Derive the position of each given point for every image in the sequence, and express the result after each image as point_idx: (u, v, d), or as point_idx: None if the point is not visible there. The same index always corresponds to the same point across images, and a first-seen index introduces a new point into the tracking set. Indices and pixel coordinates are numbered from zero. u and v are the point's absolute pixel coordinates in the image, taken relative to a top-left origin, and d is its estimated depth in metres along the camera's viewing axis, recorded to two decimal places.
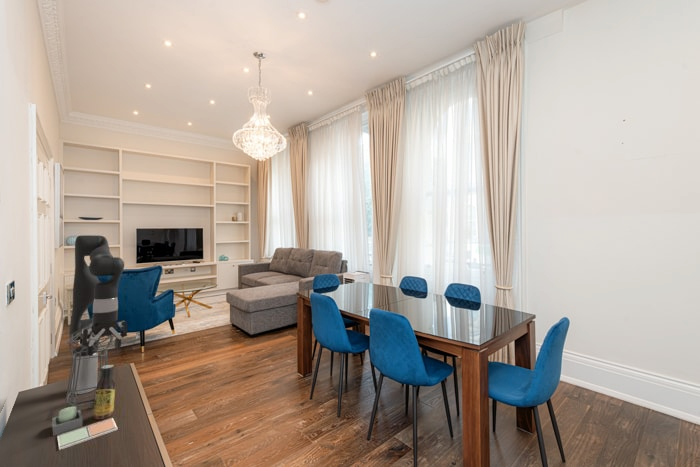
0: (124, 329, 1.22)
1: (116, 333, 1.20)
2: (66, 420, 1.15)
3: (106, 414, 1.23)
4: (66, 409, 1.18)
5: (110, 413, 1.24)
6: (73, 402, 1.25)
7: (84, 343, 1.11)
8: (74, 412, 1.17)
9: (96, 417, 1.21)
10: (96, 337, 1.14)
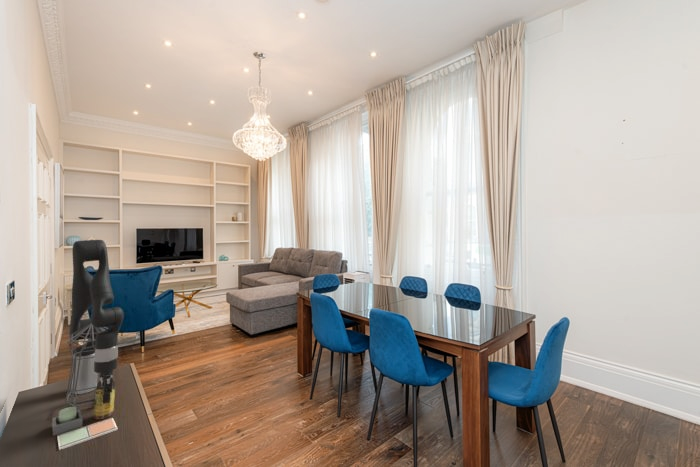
0: None
1: None
2: (66, 420, 1.15)
3: (106, 414, 1.23)
4: (66, 409, 1.18)
5: (110, 413, 1.24)
6: (73, 402, 1.25)
7: (111, 390, 1.22)
8: (74, 412, 1.17)
9: (96, 417, 1.21)
10: None
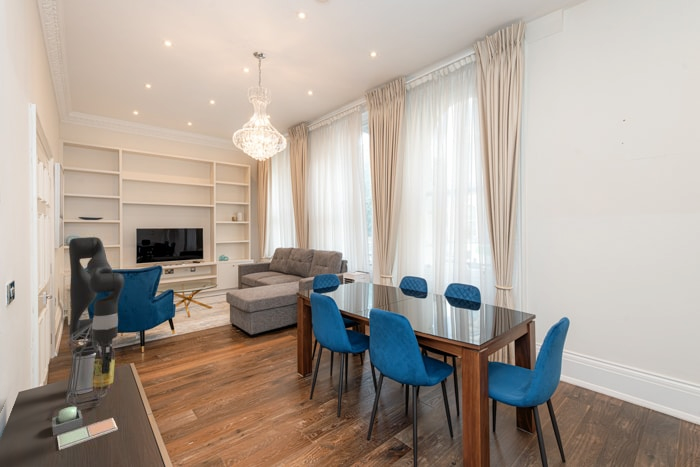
0: None
1: None
2: (66, 420, 1.15)
3: (105, 385, 1.15)
4: (66, 409, 1.18)
5: (109, 385, 1.16)
6: (73, 402, 1.25)
7: (111, 359, 1.14)
8: (74, 412, 1.17)
9: (94, 388, 1.14)
10: None
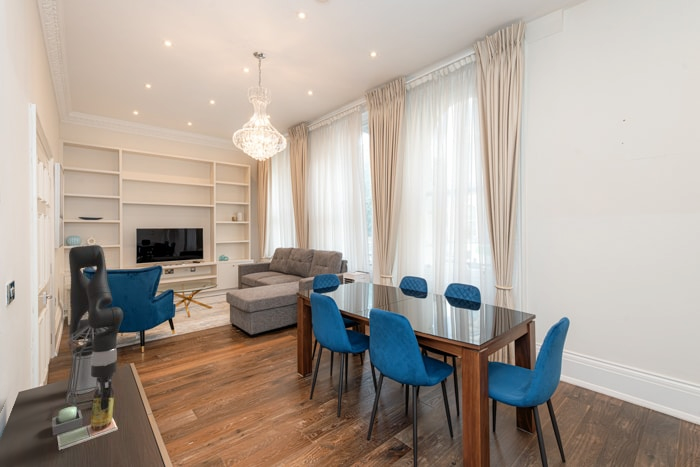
0: None
1: None
2: (66, 420, 1.15)
3: (104, 425, 1.14)
4: (66, 409, 1.18)
5: (108, 423, 1.16)
6: (73, 402, 1.25)
7: None
8: (74, 412, 1.17)
9: (93, 428, 1.13)
10: None
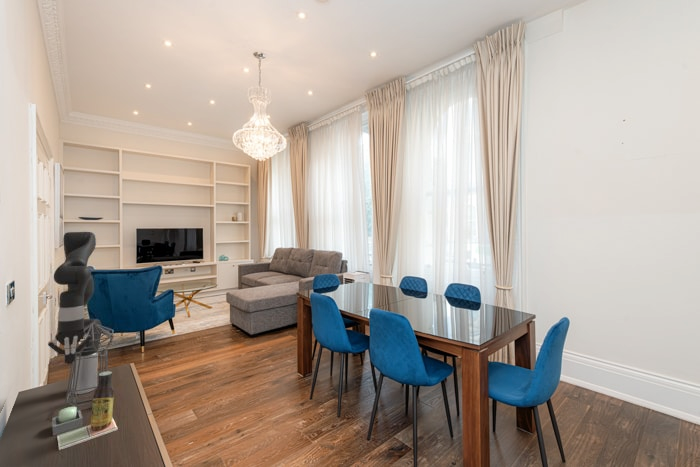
0: None
1: None
2: (66, 420, 1.15)
3: (104, 425, 1.14)
4: (66, 409, 1.18)
5: (108, 423, 1.16)
6: (73, 402, 1.25)
7: None
8: (74, 412, 1.17)
9: (93, 428, 1.13)
10: None
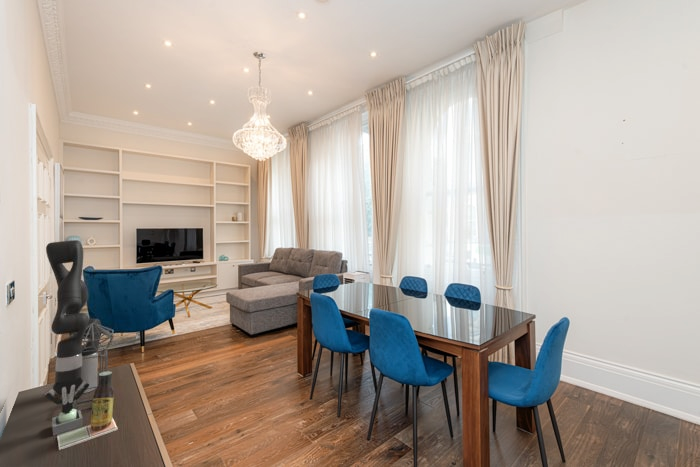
0: None
1: None
2: None
3: (104, 425, 1.14)
4: None
5: (108, 423, 1.16)
6: (73, 402, 1.25)
7: None
8: (74, 414, 1.17)
9: (93, 428, 1.13)
10: None
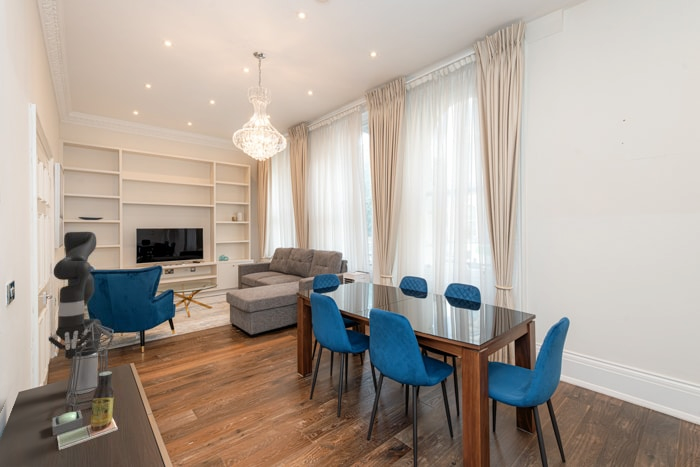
0: None
1: None
2: None
3: (104, 425, 1.14)
4: (66, 414, 1.18)
5: (108, 423, 1.16)
6: (73, 402, 1.25)
7: None
8: (74, 418, 1.17)
9: (93, 428, 1.13)
10: None
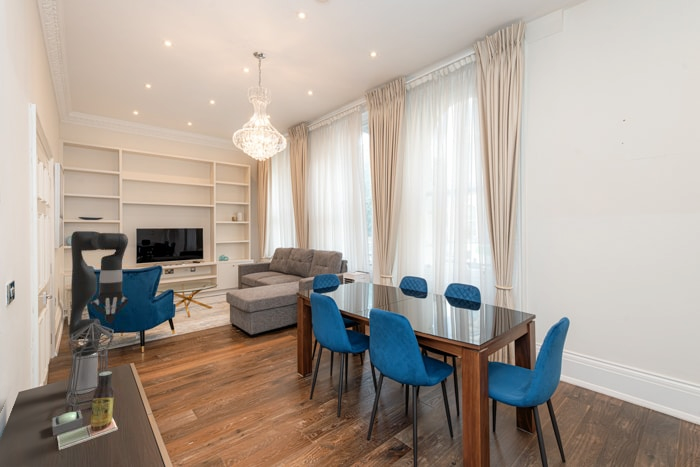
0: None
1: None
2: None
3: (104, 425, 1.14)
4: (66, 414, 1.18)
5: (108, 423, 1.16)
6: (73, 402, 1.25)
7: None
8: (74, 418, 1.17)
9: (93, 428, 1.13)
10: None
